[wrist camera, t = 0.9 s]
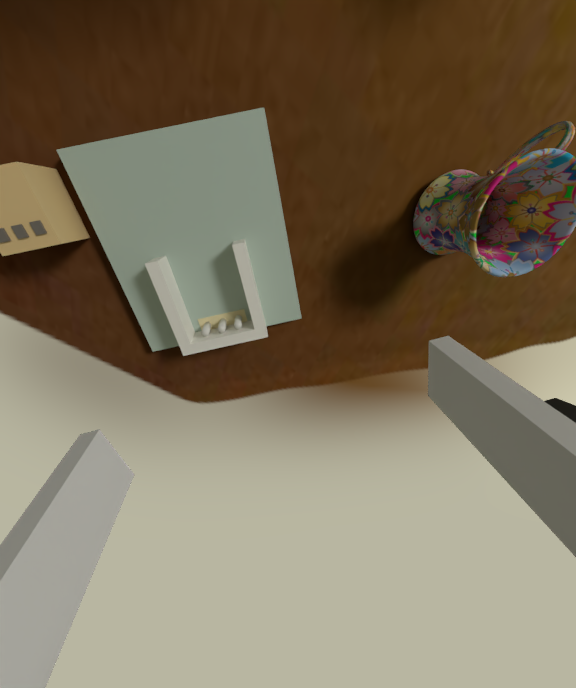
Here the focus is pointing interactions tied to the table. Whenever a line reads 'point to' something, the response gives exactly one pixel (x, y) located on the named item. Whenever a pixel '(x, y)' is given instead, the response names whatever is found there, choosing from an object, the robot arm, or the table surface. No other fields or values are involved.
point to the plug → (35, 209)
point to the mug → (504, 209)
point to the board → (192, 229)
